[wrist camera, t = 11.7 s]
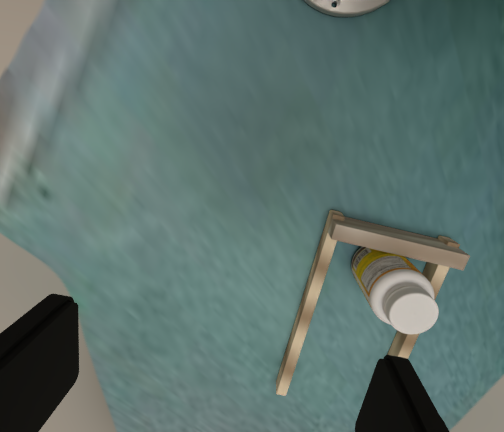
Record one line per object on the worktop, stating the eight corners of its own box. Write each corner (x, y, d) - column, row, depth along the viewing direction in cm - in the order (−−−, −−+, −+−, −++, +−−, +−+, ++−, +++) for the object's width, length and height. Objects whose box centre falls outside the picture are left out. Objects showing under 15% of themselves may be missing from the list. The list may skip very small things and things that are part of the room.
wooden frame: (330, 209, 34) (337, 220, 30) (449, 237, 34) (471, 252, 30) (276, 381, 41) (276, 407, 37) (375, 404, 41) (386, 433, 37)
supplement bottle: (399, 282, 36) (447, 341, 26) (350, 286, 37) (379, 345, 27) (400, 237, 35) (451, 282, 25) (349, 241, 35) (379, 287, 25)
